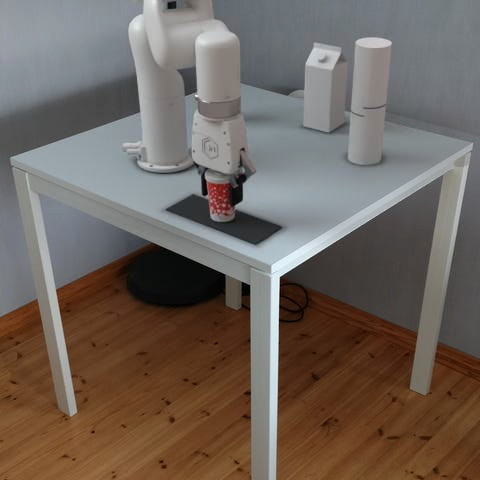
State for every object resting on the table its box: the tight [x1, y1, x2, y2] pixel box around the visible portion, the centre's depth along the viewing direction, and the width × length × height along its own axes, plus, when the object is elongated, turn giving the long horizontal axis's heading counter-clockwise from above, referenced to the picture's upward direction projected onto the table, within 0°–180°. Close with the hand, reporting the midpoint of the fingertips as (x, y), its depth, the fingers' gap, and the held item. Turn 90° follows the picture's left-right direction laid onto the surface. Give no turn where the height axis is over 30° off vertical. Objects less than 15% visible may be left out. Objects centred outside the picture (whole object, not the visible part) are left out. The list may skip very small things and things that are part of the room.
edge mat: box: [165, 193, 283, 246], centre depth 150 cm, size 22×8×1 cm, turn 51°
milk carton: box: [302, 42, 349, 134], centre depth 183 cm, size 7×7×19 cm
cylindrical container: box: [347, 37, 393, 166], centre depth 166 cm, size 7×7×25 cm
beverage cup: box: [205, 168, 238, 222], centre depth 146 cm, size 6×6×14 cm
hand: (222, 197), depth 148 cm, fingers closed on beverage cup, 6 cm apart
